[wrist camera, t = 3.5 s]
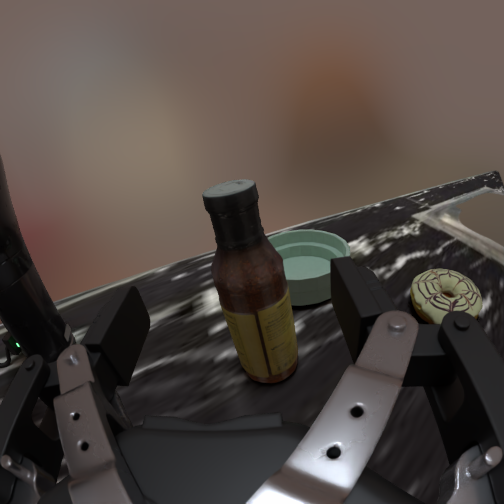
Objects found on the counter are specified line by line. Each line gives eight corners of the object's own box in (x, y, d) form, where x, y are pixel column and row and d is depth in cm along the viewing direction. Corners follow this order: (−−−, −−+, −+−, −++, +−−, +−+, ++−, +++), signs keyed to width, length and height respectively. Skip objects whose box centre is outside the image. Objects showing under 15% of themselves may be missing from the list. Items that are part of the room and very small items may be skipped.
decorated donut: (440, 349, 25) (449, 325, 24) (394, 299, 35) (397, 276, 33) (489, 317, 26) (497, 294, 25) (443, 278, 36) (448, 257, 34)
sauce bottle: (295, 341, 32) (275, 169, 23) (302, 383, 26) (283, 188, 17) (240, 347, 32) (199, 182, 23) (239, 389, 27) (182, 205, 18)
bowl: (255, 317, 37) (249, 286, 35) (253, 262, 50) (249, 236, 48) (362, 299, 36) (364, 269, 34) (335, 250, 49) (334, 224, 47)
